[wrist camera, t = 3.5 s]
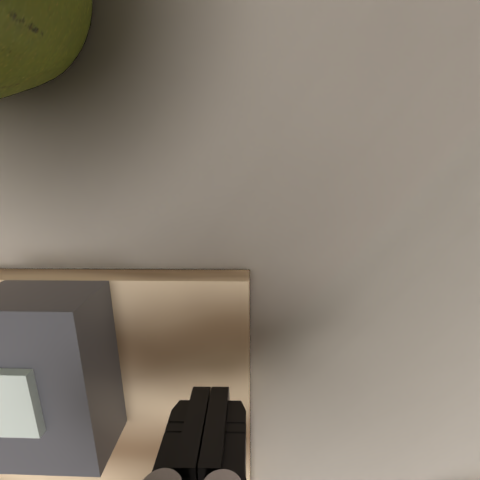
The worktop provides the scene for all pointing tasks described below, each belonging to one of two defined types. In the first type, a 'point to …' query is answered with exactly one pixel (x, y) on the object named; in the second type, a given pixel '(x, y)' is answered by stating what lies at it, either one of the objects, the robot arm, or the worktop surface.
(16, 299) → the block
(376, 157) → the worktop surface
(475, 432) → the worktop surface
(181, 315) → the subfloor panel
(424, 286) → the worktop surface
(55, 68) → the flower pot
